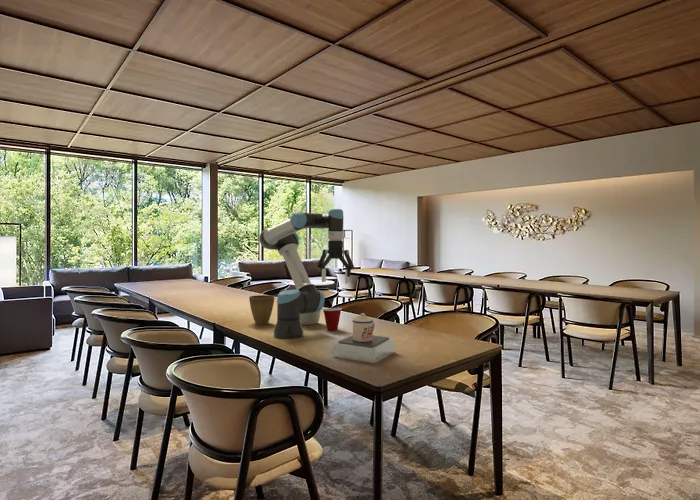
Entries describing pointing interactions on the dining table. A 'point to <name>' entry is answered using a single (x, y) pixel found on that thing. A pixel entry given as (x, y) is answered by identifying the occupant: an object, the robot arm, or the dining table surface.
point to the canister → (309, 318)
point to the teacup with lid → (363, 328)
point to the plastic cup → (332, 318)
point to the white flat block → (364, 349)
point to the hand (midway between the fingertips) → (335, 282)
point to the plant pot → (261, 308)
